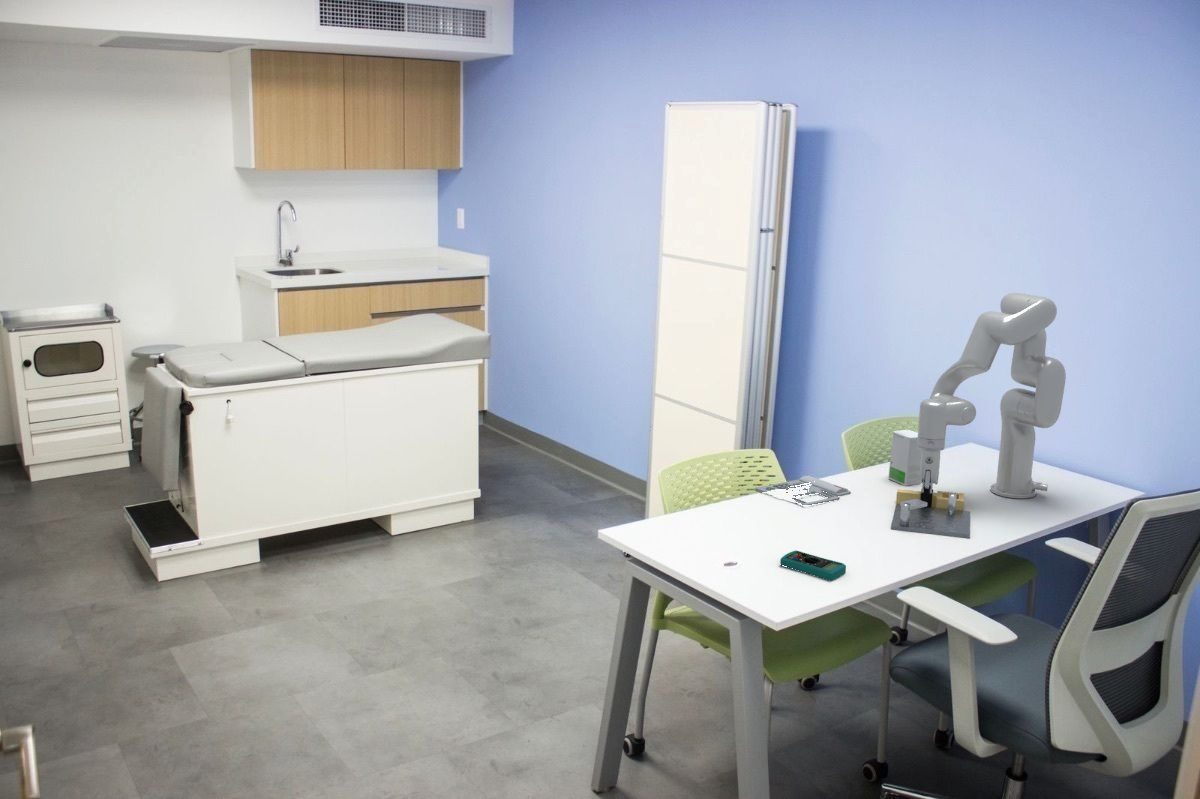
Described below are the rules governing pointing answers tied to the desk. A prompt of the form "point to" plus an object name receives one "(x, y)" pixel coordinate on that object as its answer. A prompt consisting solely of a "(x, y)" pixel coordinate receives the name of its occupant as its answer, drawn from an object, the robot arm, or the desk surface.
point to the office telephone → (810, 489)
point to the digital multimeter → (813, 565)
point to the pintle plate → (931, 518)
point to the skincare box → (905, 458)
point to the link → (938, 498)
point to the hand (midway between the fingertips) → (925, 503)
